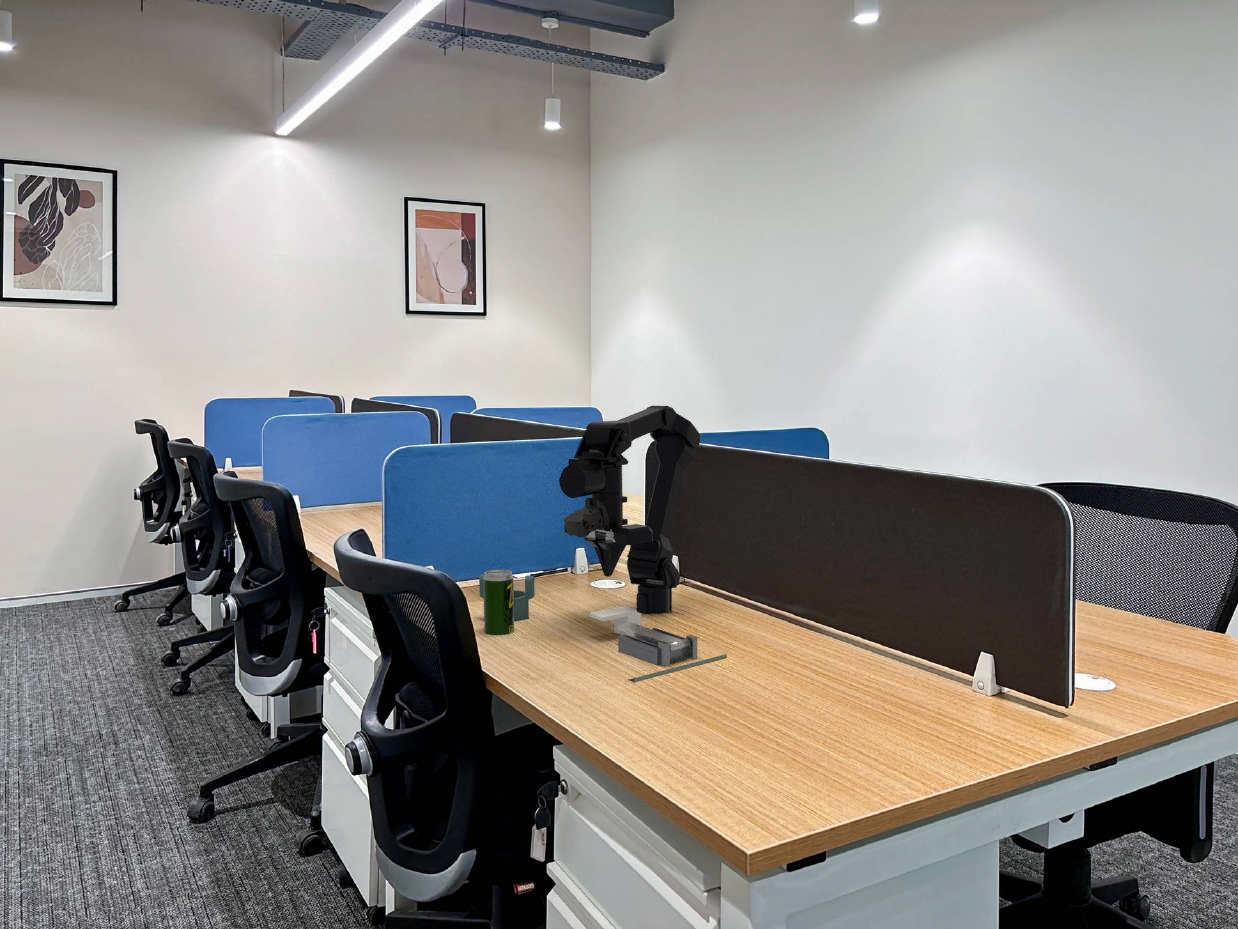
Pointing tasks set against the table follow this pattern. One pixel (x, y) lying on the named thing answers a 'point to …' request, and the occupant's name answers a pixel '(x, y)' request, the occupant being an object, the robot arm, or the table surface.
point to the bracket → (518, 597)
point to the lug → (618, 617)
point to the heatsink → (657, 649)
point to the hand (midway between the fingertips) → (607, 576)
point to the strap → (653, 636)
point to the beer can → (498, 602)
